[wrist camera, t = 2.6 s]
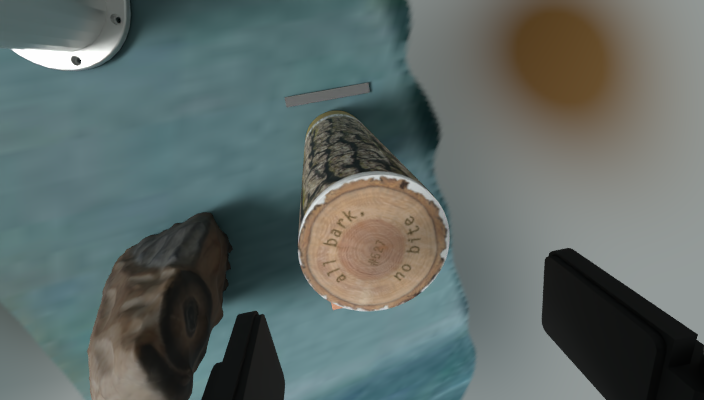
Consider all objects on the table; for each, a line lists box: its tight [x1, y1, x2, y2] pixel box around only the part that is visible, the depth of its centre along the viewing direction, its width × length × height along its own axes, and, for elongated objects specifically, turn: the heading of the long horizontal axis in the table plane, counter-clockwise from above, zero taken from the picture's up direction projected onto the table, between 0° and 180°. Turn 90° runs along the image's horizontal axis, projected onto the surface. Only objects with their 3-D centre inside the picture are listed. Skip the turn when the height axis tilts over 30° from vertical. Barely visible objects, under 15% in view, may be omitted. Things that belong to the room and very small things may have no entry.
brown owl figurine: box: [87, 212, 233, 400], centre depth 32 cm, size 13×13×20 cm
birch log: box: [298, 111, 450, 311], centre depth 27 cm, size 7×7×25 cm
